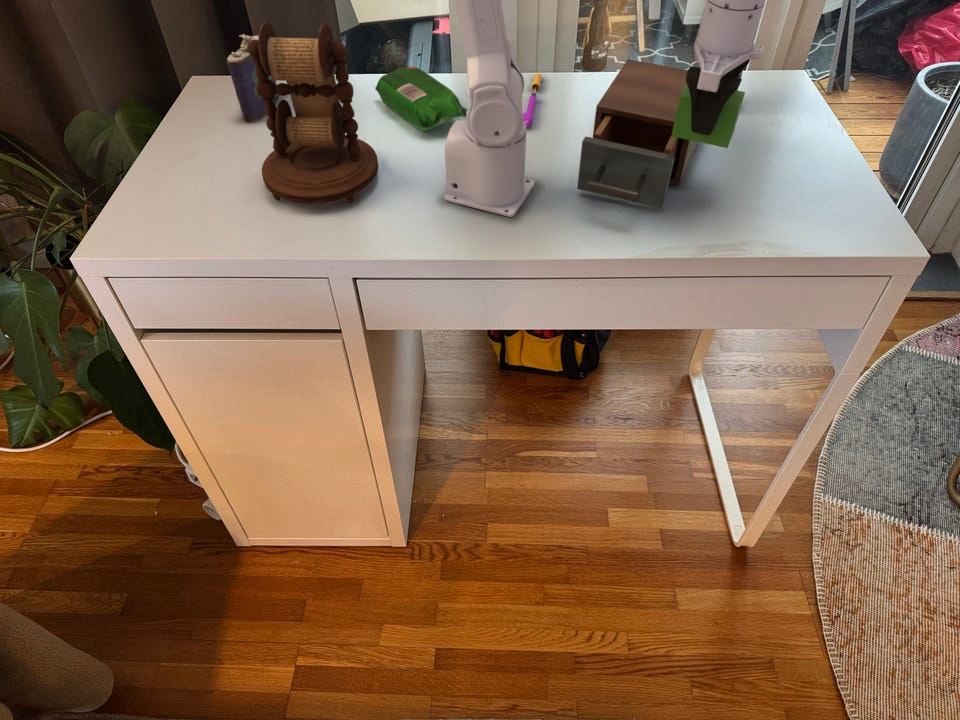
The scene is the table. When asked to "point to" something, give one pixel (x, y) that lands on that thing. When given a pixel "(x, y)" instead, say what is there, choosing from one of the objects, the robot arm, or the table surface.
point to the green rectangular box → (722, 127)
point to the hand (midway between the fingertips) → (705, 123)
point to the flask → (247, 82)
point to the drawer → (629, 160)
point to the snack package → (419, 98)
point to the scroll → (310, 120)
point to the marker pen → (532, 101)
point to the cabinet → (648, 102)
